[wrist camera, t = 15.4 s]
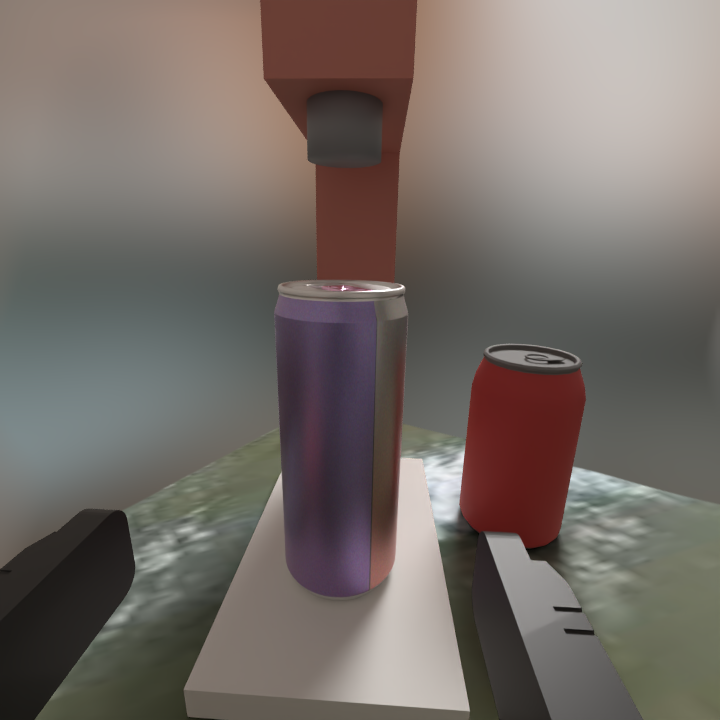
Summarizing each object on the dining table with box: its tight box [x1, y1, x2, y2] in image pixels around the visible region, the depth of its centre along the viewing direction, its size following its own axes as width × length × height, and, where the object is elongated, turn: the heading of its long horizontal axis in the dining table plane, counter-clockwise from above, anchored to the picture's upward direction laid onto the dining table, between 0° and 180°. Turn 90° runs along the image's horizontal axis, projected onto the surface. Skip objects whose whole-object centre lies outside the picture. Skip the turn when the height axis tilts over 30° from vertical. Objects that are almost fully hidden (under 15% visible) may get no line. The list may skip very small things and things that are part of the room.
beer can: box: [459, 344, 586, 549], centre depth 25 cm, size 7×7×12 cm
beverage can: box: [274, 280, 408, 600], centre depth 19 cm, size 6×6×15 cm
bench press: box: [184, 0, 470, 720], centre depth 18 cm, size 11×18×39 cm, turn 177°
